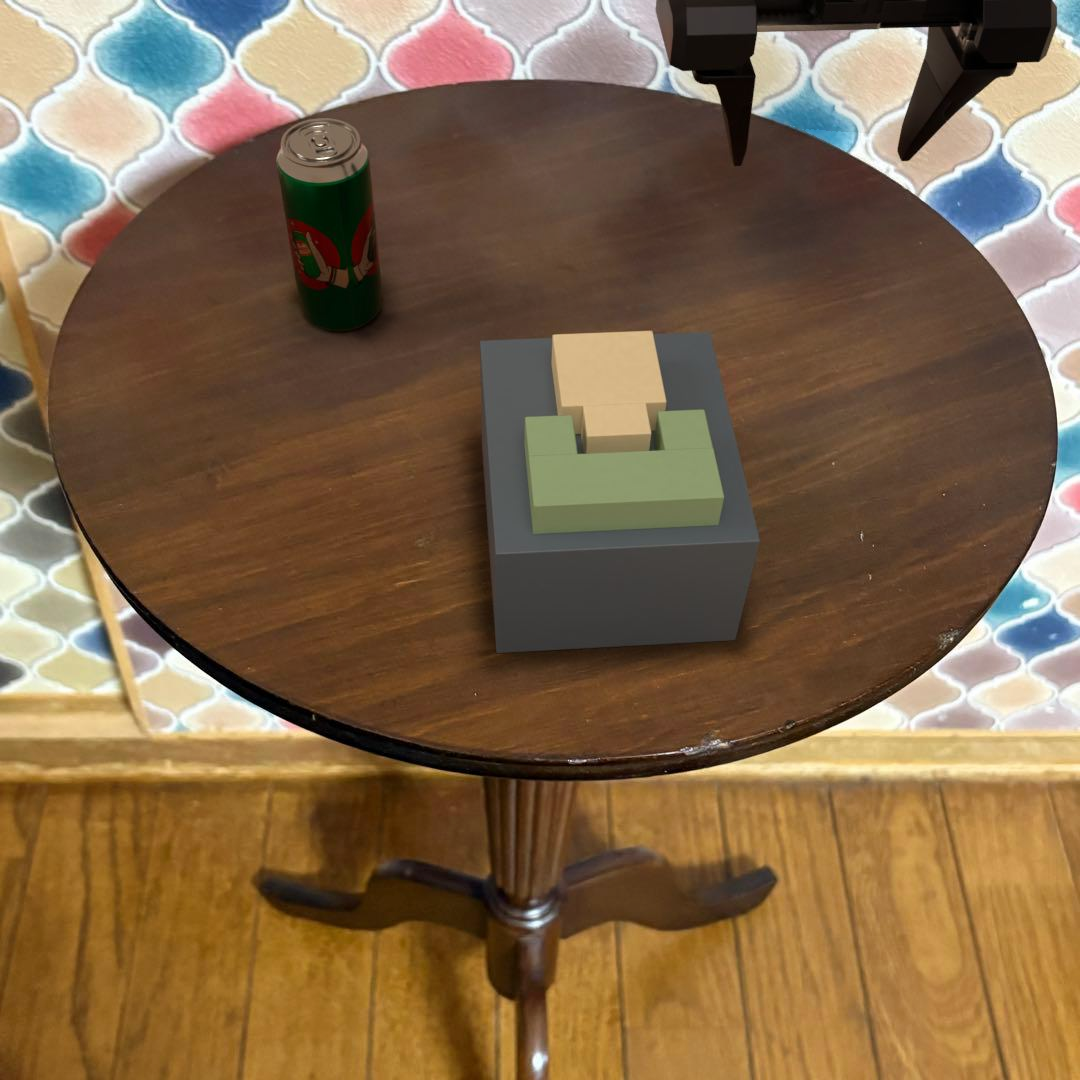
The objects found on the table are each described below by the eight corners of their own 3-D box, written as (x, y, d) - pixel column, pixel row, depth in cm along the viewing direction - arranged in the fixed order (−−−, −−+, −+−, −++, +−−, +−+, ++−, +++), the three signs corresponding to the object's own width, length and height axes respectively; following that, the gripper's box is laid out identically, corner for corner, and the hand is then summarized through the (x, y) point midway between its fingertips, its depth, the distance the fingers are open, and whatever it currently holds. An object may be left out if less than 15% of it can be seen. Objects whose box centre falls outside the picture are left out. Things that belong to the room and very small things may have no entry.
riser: (692, 436, 73) (710, 331, 67) (735, 640, 64) (760, 540, 58) (481, 446, 72) (479, 339, 66) (496, 653, 63) (495, 554, 57)
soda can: (368, 274, 81) (350, 105, 72) (394, 324, 78) (380, 155, 69) (290, 294, 80) (262, 124, 70) (314, 345, 77) (288, 176, 68)
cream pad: (649, 359, 65) (652, 330, 64) (668, 461, 61) (673, 432, 59) (551, 363, 65) (552, 333, 63) (564, 466, 61) (565, 437, 59)
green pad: (699, 437, 62) (704, 408, 60) (718, 525, 58) (724, 497, 57) (524, 445, 61) (524, 416, 60) (532, 534, 58) (533, 506, 56)
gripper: (1031, -216, 63) (946, 73, 75) (655, -212, 62) (630, 81, 74) (1112, -111, 56) (1004, 188, 68) (690, -105, 55) (657, 199, 67)
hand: (819, 159), depth 70 cm, fingers open, 9 cm apart
